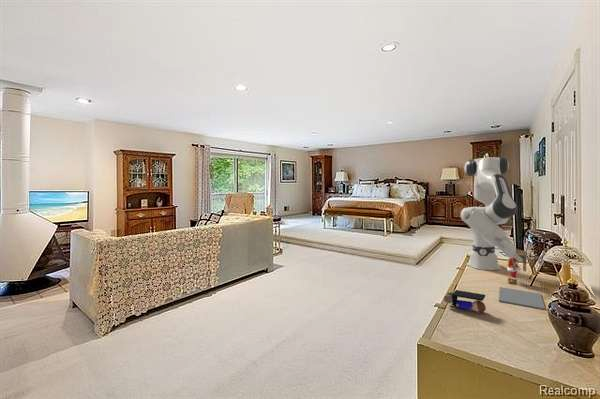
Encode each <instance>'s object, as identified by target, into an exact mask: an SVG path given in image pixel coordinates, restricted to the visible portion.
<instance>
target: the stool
mask: <svg viewBox="0 0 600 399" xmlns="http://www.w3.org/2000/svg"><path fill="white" fill-rule="evenodd" d="M516 253H517V254H518V255H519V256H520V257H521V258H522V259H523V261H521V262H519V261H518V260H517V259H515V258H514V257H513V270H516V262H519V263H521V264H522V270H523V272H527V255H528V254H527V253H528V252H527V251H526V250H521V249H520V250H519V249H518V250H516Z"/></svg>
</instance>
